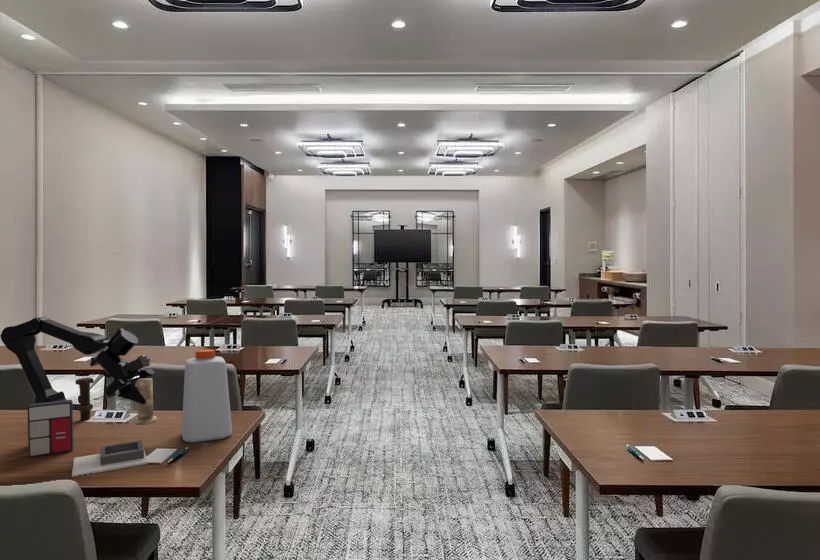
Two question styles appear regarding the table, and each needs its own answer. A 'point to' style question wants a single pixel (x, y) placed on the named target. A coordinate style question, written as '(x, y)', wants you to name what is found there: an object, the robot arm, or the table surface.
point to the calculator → (50, 427)
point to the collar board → (111, 458)
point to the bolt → (84, 397)
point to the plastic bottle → (206, 398)
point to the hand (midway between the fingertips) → (149, 401)
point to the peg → (145, 409)
